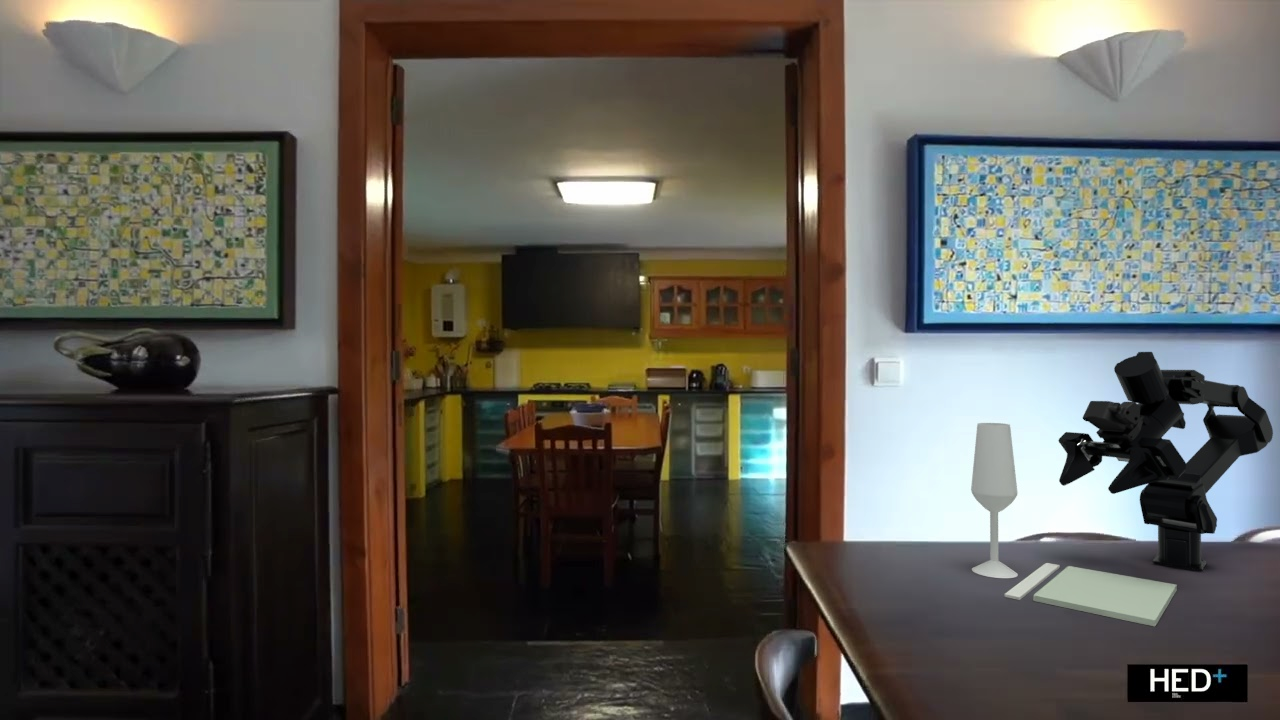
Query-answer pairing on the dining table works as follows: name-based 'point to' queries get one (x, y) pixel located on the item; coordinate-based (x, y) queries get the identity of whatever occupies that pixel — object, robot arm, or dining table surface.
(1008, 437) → the champagne flute
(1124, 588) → the pale green flat slabs
